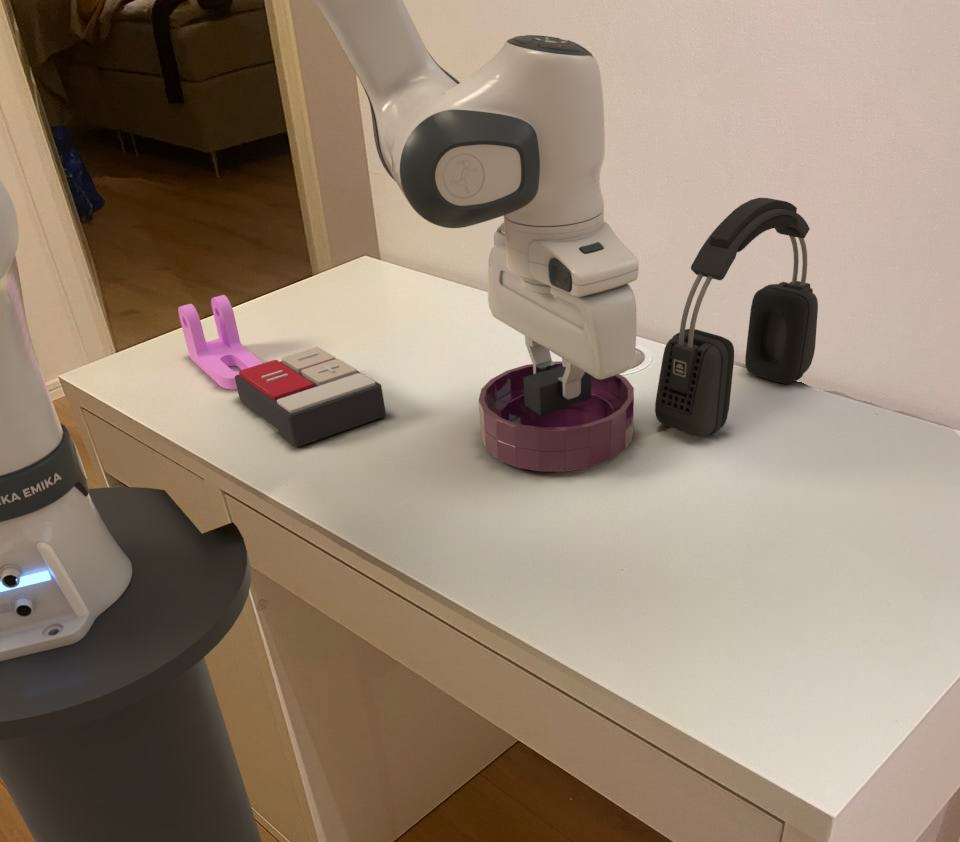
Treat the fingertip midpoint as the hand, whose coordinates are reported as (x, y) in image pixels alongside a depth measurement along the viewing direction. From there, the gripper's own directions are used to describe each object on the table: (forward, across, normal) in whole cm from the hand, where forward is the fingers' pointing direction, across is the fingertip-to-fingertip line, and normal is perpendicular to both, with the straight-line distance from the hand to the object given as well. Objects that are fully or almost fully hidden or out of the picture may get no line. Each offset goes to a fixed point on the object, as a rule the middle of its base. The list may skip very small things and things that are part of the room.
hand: (557, 387), depth 98 cm
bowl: (+6, 0, 0) cm, 6 cm away
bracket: (+6, -38, -22) cm, 44 cm away
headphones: (+6, +4, +20) cm, 21 cm away
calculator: (+6, -22, -18) cm, 29 cm away
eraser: (+2, 0, 0) cm, 2 cm away
